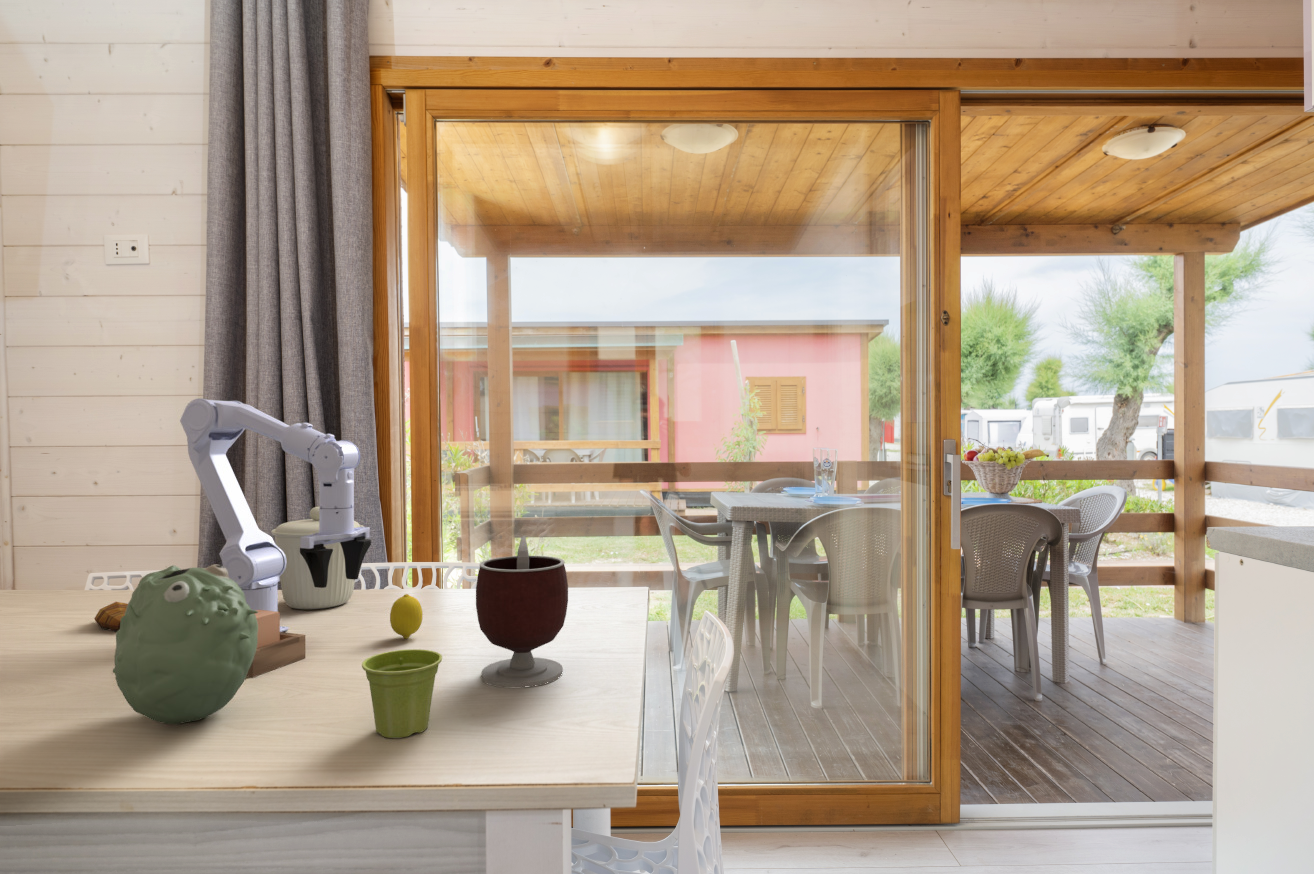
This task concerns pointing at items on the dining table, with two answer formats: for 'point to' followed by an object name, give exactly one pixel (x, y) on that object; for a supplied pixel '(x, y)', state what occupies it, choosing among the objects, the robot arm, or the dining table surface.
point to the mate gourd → (521, 614)
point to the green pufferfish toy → (184, 644)
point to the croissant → (111, 616)
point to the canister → (297, 572)
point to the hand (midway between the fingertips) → (336, 582)
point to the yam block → (268, 627)
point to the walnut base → (278, 654)
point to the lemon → (406, 616)
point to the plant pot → (402, 690)
